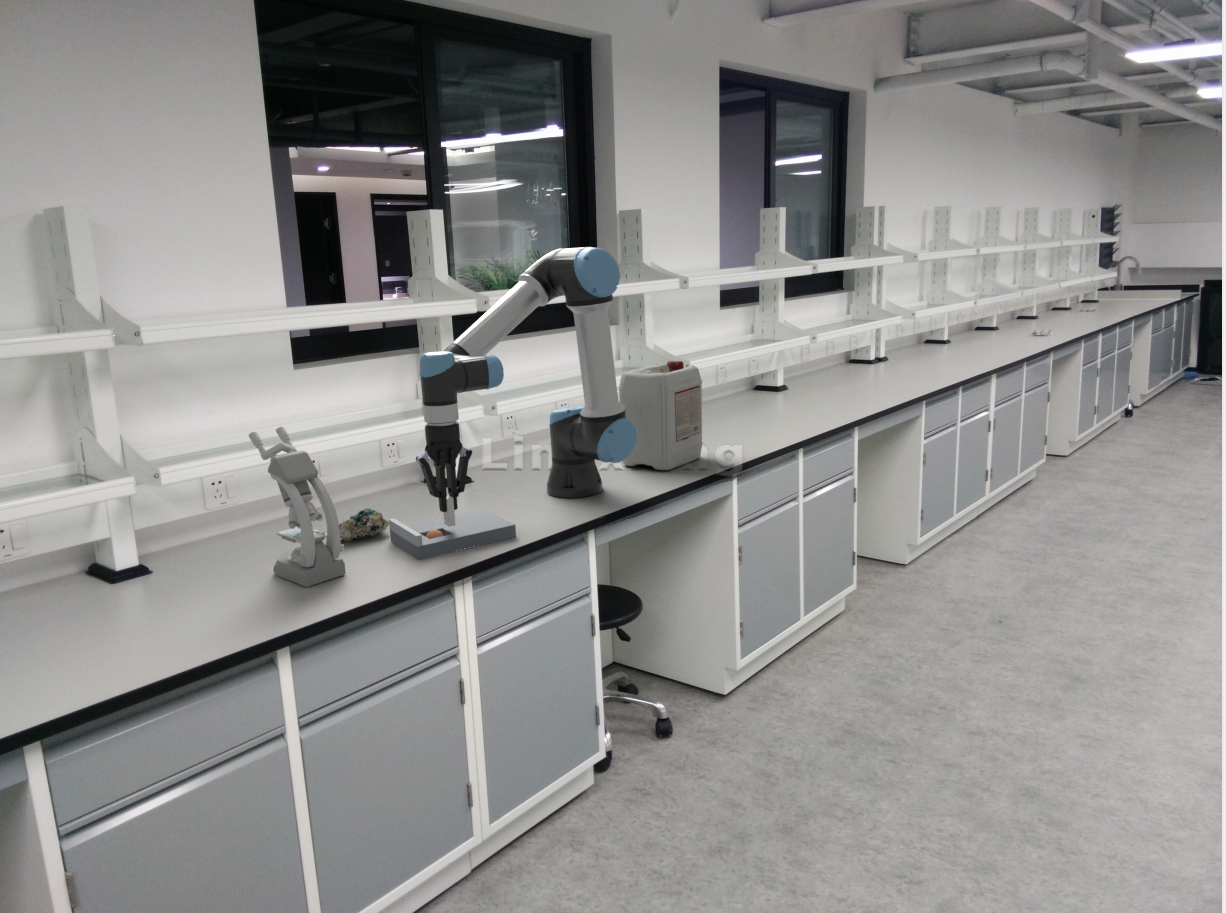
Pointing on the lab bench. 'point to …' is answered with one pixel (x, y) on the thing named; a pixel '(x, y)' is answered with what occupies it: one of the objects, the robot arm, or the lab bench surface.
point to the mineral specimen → (362, 525)
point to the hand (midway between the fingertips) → (449, 524)
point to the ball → (434, 534)
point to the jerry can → (663, 414)
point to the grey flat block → (450, 534)
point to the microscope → (303, 515)
